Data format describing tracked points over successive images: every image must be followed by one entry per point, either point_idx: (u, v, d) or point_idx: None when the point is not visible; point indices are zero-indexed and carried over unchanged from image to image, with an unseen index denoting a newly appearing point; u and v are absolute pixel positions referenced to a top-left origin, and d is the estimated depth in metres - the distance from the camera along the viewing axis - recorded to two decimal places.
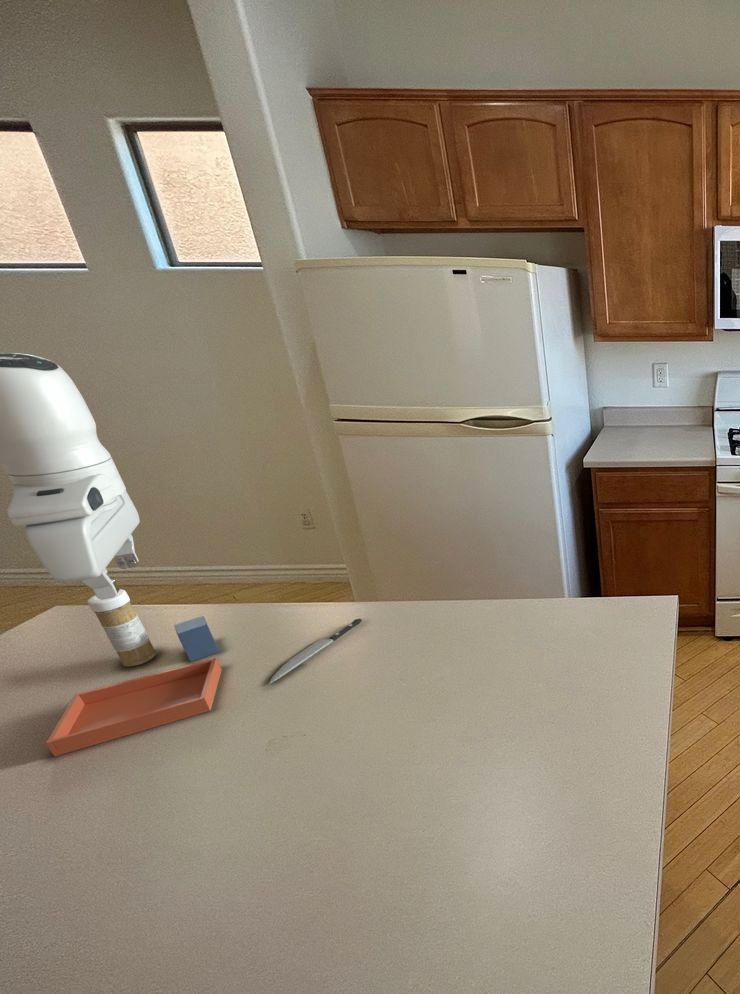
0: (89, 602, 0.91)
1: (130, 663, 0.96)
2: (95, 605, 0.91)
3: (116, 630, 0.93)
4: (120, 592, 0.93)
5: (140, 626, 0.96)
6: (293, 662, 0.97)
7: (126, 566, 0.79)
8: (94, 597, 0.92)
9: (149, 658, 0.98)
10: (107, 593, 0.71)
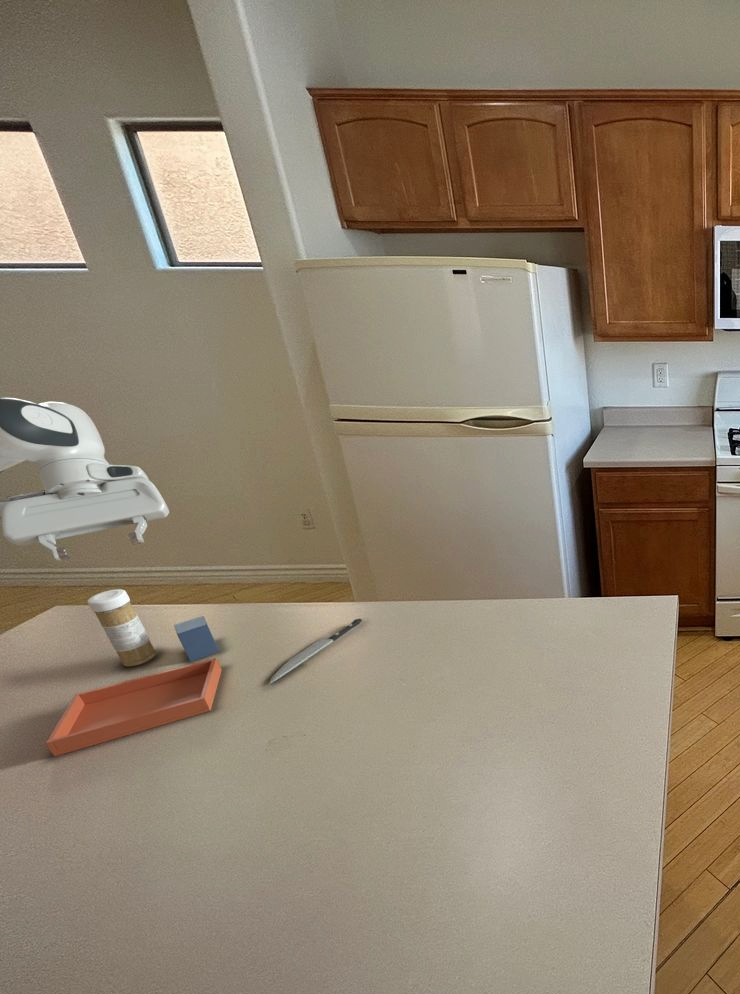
0: (89, 602, 0.91)
1: (130, 663, 0.96)
2: (95, 605, 0.91)
3: (116, 630, 0.93)
4: (120, 592, 0.93)
5: (140, 626, 0.96)
6: (293, 662, 0.97)
7: (67, 555, 0.96)
8: (94, 597, 0.92)
9: (149, 658, 0.98)
10: (142, 538, 1.03)
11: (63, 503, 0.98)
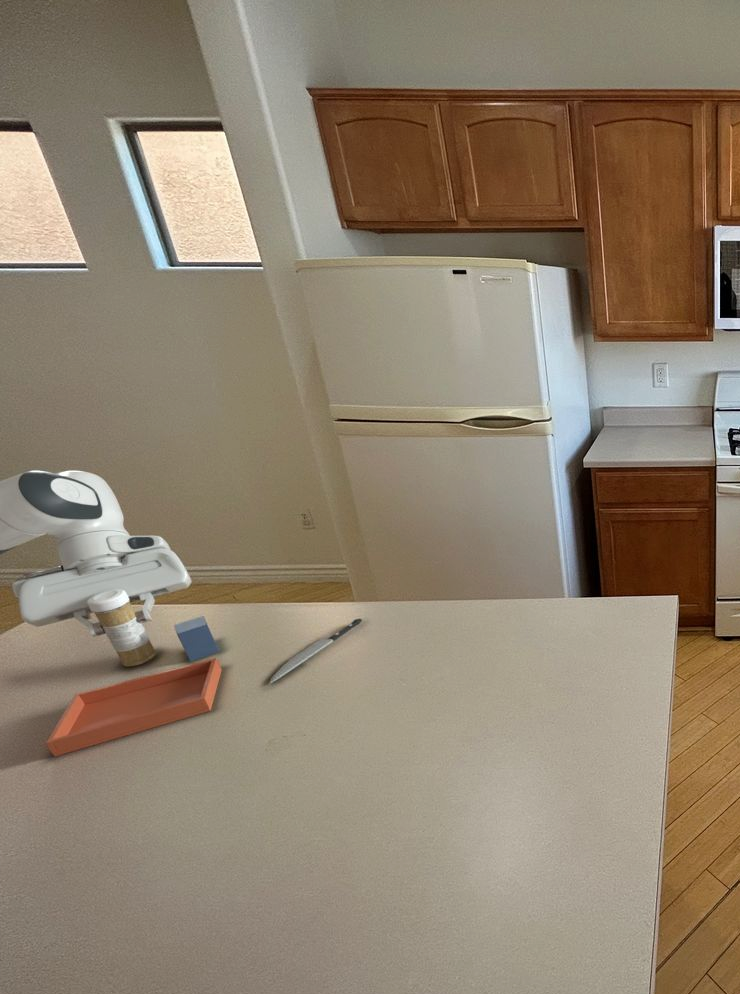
0: (88, 602, 0.91)
1: (130, 663, 0.96)
2: (95, 605, 0.91)
3: (116, 630, 0.93)
4: (119, 592, 0.93)
5: (140, 626, 0.96)
6: (293, 662, 0.97)
7: (103, 630, 0.93)
8: (93, 597, 0.92)
9: (149, 658, 0.98)
10: (149, 616, 0.97)
11: (82, 579, 0.94)
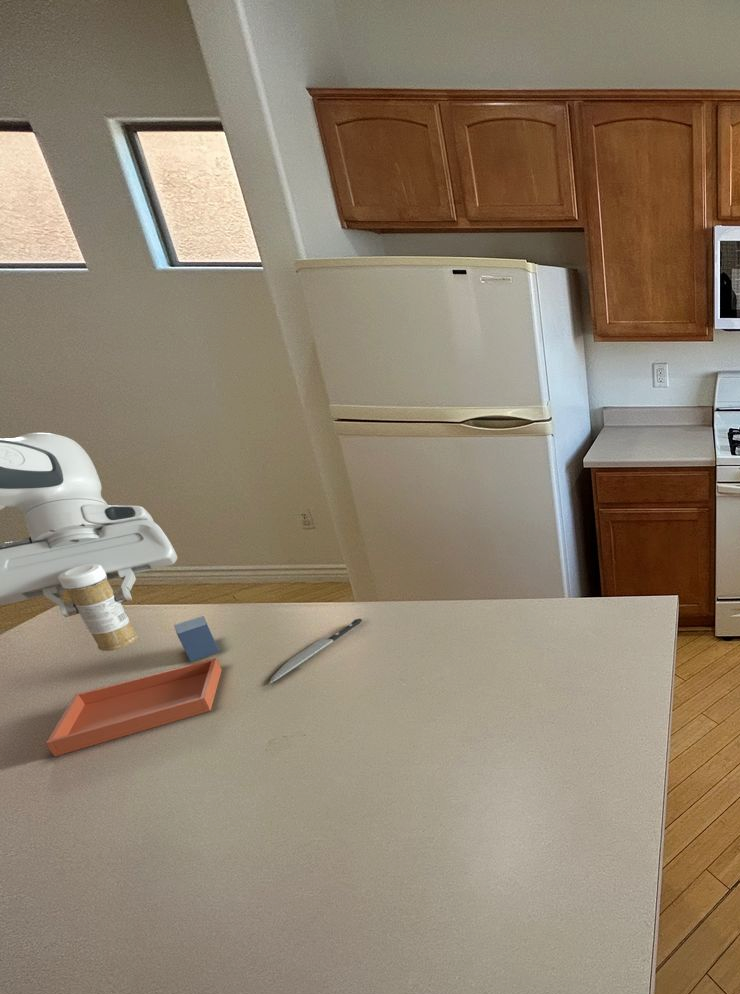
0: (59, 577, 0.80)
1: (107, 647, 0.86)
2: (67, 581, 0.80)
3: (91, 610, 0.83)
4: (95, 567, 0.83)
5: (119, 606, 0.86)
6: (293, 662, 0.97)
7: (77, 610, 0.83)
8: (65, 572, 0.81)
9: (129, 642, 0.87)
10: (130, 595, 0.87)
11: (53, 552, 0.83)
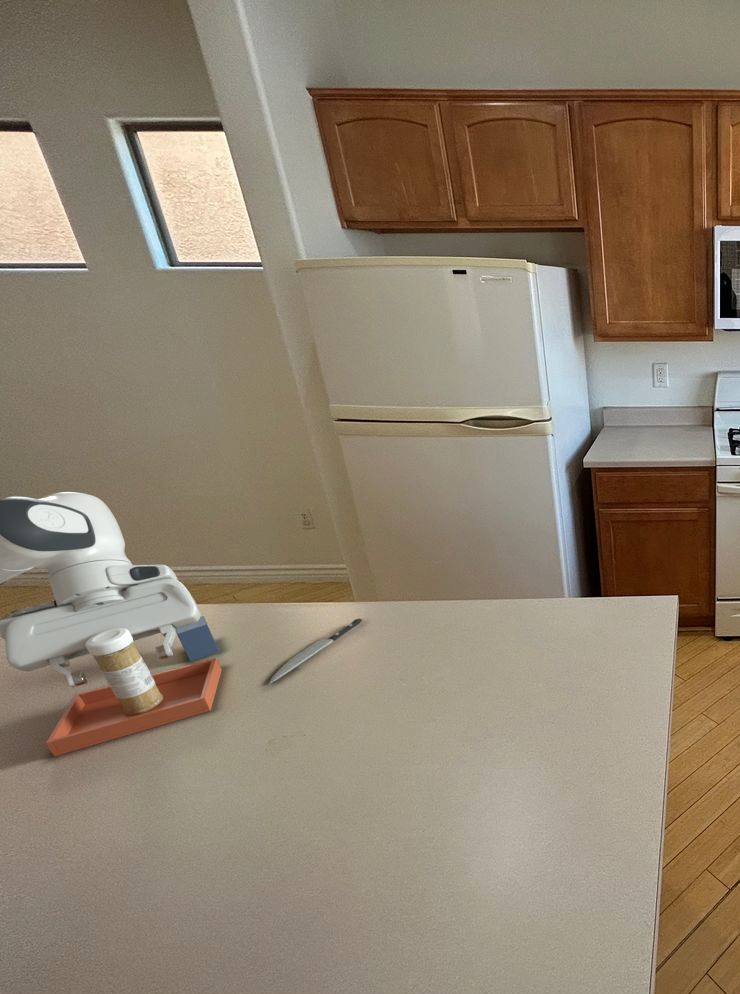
0: (87, 645, 0.80)
1: (133, 711, 0.85)
2: (94, 648, 0.80)
3: (118, 675, 0.82)
4: (122, 632, 0.82)
5: (145, 669, 0.85)
6: (293, 662, 0.97)
7: (84, 680, 0.81)
8: (93, 638, 0.81)
9: (155, 704, 0.87)
10: (171, 651, 0.87)
11: (78, 616, 0.82)
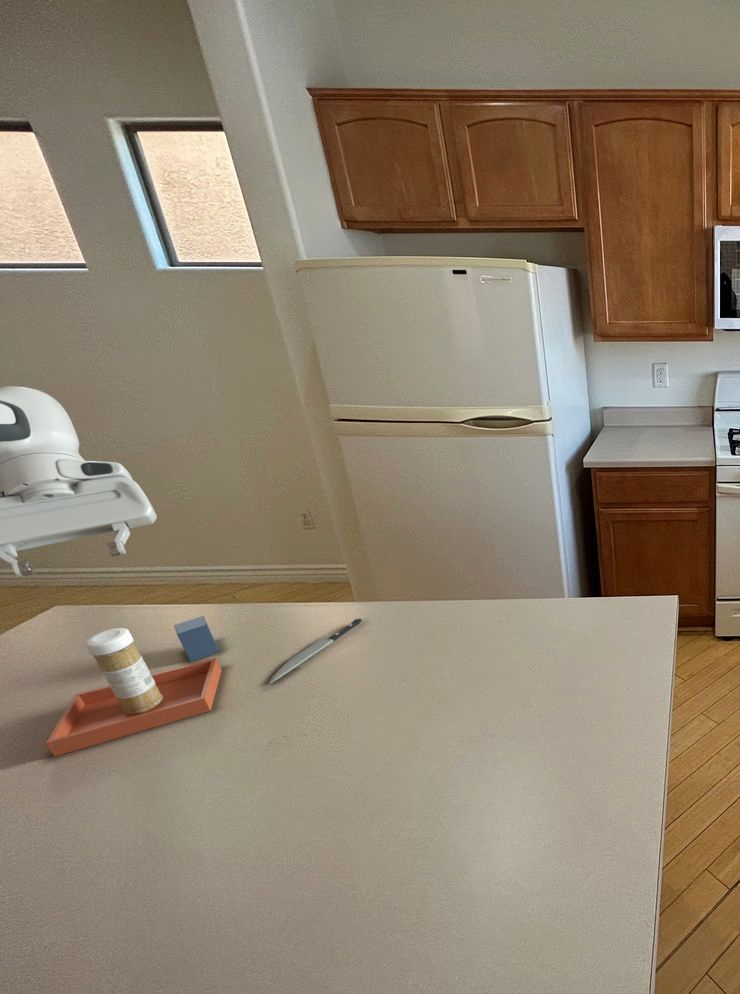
0: (87, 644, 0.80)
1: (133, 711, 0.85)
2: (94, 648, 0.80)
3: (118, 675, 0.82)
4: (122, 632, 0.82)
5: (145, 669, 0.85)
6: (293, 662, 0.97)
7: (31, 570, 0.79)
8: (93, 638, 0.81)
9: (155, 704, 0.87)
10: (123, 549, 0.86)
11: (27, 507, 0.81)
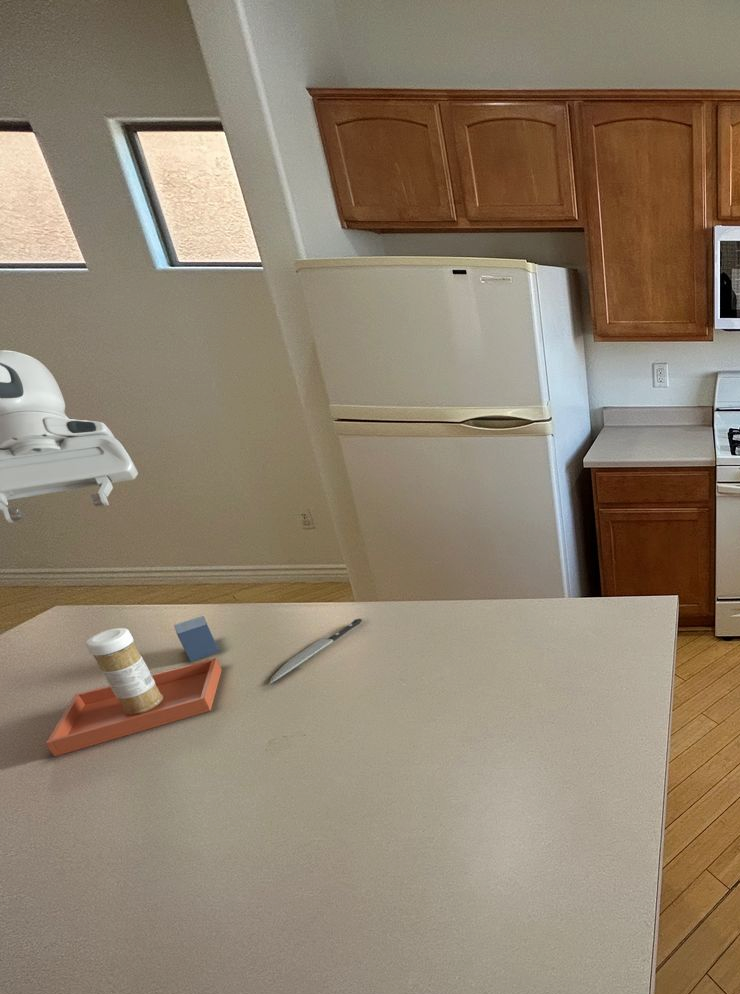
0: (87, 644, 0.80)
1: (133, 711, 0.85)
2: (94, 648, 0.80)
3: (118, 675, 0.82)
4: (122, 632, 0.82)
5: (145, 669, 0.85)
6: (293, 662, 0.97)
7: (21, 517, 0.87)
8: (93, 638, 0.81)
9: (155, 704, 0.87)
10: (106, 500, 0.93)
11: (16, 460, 0.88)
